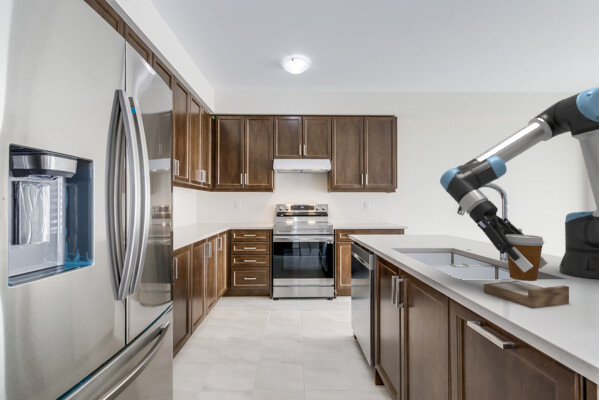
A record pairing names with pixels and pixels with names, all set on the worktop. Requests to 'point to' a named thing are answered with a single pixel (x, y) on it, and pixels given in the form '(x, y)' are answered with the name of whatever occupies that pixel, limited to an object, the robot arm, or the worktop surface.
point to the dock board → (529, 293)
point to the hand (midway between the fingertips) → (536, 267)
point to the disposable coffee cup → (525, 255)
